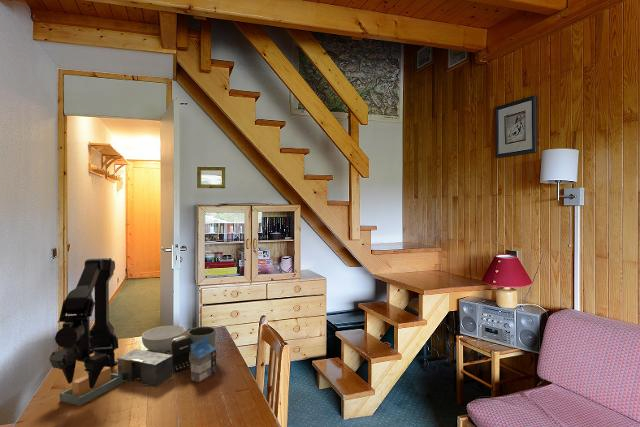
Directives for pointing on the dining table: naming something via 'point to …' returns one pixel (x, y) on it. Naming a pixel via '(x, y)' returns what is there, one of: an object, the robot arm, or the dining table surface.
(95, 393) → the tray
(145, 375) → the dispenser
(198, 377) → the label tape cartridge
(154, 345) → the cereal bowl
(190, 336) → the gray cylindrical cup
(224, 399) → the dining table surface
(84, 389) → the orange-brown rectangular block
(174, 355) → the battery charger
